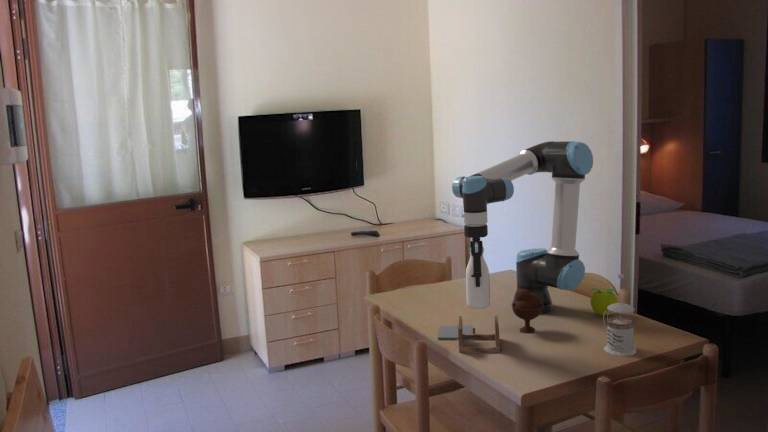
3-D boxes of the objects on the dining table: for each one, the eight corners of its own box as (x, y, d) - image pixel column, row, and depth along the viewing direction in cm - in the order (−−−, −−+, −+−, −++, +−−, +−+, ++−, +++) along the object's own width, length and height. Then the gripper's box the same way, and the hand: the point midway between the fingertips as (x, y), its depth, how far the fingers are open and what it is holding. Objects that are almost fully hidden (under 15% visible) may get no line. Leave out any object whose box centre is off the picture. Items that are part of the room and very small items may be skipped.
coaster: (473, 327, 229) (472, 325, 229) (473, 339, 218) (472, 337, 217) (439, 327, 231) (439, 325, 231) (437, 339, 219) (437, 337, 219)
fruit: (589, 310, 241) (589, 285, 240) (614, 311, 239) (615, 285, 238) (591, 318, 233) (591, 292, 231) (618, 319, 231) (618, 292, 229)
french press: (619, 358, 196) (620, 279, 192) (593, 346, 206) (593, 271, 202) (643, 351, 200) (645, 274, 196) (616, 340, 210) (617, 267, 206)
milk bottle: (489, 309, 206) (487, 249, 202) (465, 309, 207) (463, 249, 204) (490, 302, 213) (488, 244, 210) (467, 302, 215) (465, 244, 211)
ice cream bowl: (526, 338, 216) (525, 295, 214) (505, 329, 226) (504, 288, 224) (550, 332, 221) (549, 290, 219) (528, 323, 231) (528, 283, 228)
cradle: (498, 338, 218) (497, 315, 216) (499, 352, 205) (498, 328, 204) (459, 338, 220) (459, 315, 218) (459, 352, 207) (458, 328, 206)
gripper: (464, 218, 216) (466, 283, 220) (463, 230, 196) (466, 301, 200) (486, 218, 215) (488, 283, 219) (488, 230, 195) (490, 301, 199)
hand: (478, 292), depth 210 cm, fingers closed on milk bottle, 8 cm apart
